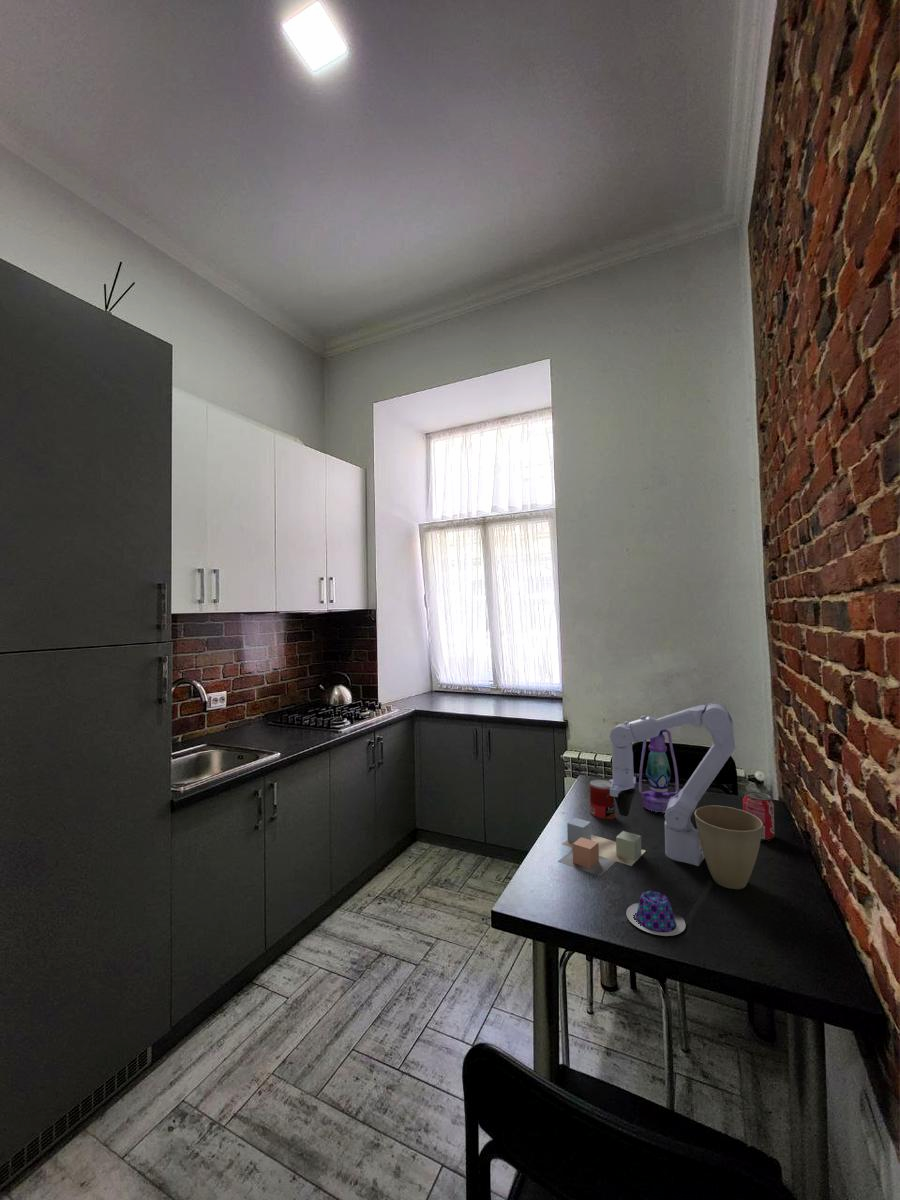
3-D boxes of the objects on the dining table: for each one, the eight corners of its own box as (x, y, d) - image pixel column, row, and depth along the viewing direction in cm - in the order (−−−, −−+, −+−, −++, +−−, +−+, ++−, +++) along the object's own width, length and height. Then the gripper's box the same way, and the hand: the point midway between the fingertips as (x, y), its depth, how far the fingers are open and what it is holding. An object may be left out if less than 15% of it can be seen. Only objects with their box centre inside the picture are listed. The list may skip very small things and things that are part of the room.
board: (646, 854, 139) (645, 850, 139) (616, 885, 123) (616, 881, 123) (579, 834, 152) (579, 831, 152) (544, 860, 136) (544, 856, 136)
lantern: (645, 815, 166) (643, 724, 167) (634, 802, 177) (632, 717, 178) (686, 815, 165) (683, 724, 166) (671, 802, 177) (669, 717, 178)
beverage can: (765, 830, 153) (764, 791, 153) (780, 842, 145) (779, 800, 145) (738, 829, 154) (737, 790, 154) (751, 841, 146) (750, 800, 146)
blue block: (591, 839, 146) (590, 822, 146) (583, 845, 142) (583, 827, 142) (575, 834, 149) (575, 817, 149) (567, 840, 145) (567, 823, 146)
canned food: (610, 823, 159) (609, 789, 159) (586, 817, 164) (585, 784, 164) (618, 815, 165) (617, 782, 166) (595, 810, 170) (594, 777, 170)
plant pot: (729, 904, 115) (727, 835, 115) (683, 871, 129) (681, 810, 130) (780, 892, 119) (777, 825, 119) (730, 861, 133) (727, 802, 134)
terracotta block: (598, 861, 133) (598, 842, 133) (590, 868, 129) (590, 849, 129) (581, 855, 136) (581, 837, 136) (573, 862, 132) (572, 843, 133)
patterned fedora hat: (614, 916, 111) (614, 892, 111) (649, 900, 117) (649, 877, 117) (662, 946, 101) (661, 920, 101) (697, 927, 107) (697, 902, 107)
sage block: (641, 854, 137) (640, 835, 137) (634, 861, 133) (634, 842, 133) (623, 848, 140) (623, 830, 140) (616, 855, 136) (616, 837, 136)
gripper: (619, 758, 151) (620, 804, 151) (598, 770, 140) (600, 819, 140) (642, 763, 147) (643, 809, 146) (623, 775, 136) (624, 826, 135)
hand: (624, 814), depth 143 cm, fingers closed
